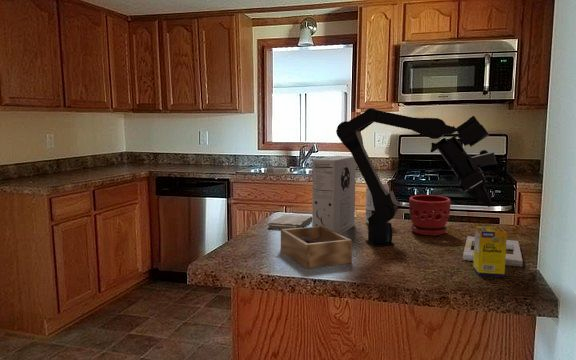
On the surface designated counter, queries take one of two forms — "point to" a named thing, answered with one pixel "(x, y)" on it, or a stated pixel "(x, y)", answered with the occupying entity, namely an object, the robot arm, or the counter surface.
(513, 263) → the plate
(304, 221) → the washcloth
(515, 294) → the counter surface
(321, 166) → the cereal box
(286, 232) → the oak box
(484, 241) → the supplement box
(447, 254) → the counter surface
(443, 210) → the plant pot
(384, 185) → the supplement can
